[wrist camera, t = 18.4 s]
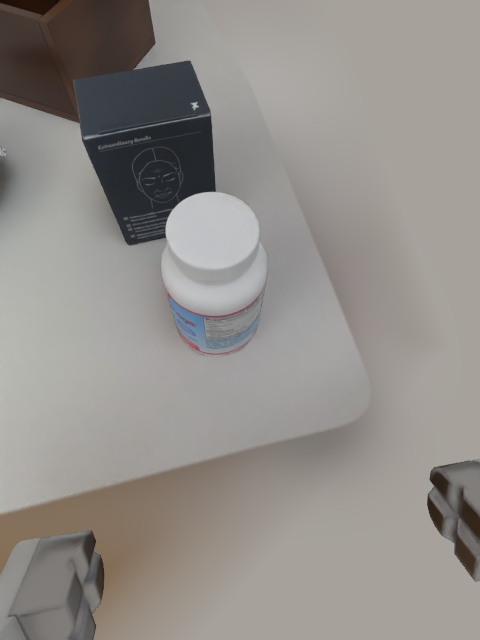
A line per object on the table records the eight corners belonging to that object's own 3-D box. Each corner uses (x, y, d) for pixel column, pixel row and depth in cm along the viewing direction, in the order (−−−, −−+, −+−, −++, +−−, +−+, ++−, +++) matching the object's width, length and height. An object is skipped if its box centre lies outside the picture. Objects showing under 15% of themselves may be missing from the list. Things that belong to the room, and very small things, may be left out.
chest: (86, 125, 36) (46, 23, 28) (-22, 90, 38) (-88, -16, 30) (155, 43, 42) (138, -62, 34) (59, 15, 44) (21, -91, 36)
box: (202, 179, 34) (192, 56, 24) (218, 227, 32) (214, 114, 22) (116, 196, 33) (69, 75, 23) (126, 247, 31) (79, 137, 21)
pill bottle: (169, 296, 29) (137, 192, 19) (244, 278, 30) (253, 169, 20) (188, 369, 27) (162, 295, 16) (268, 346, 28) (292, 263, 17)
